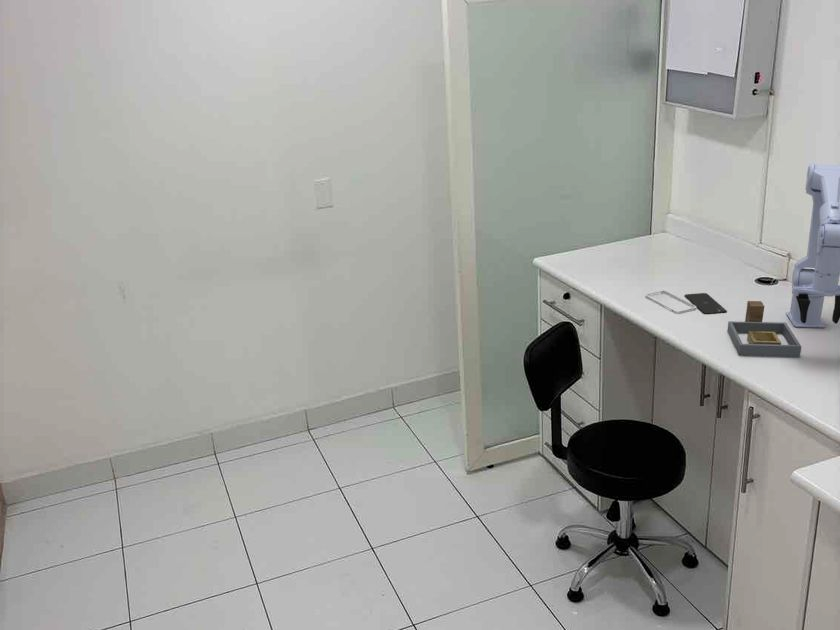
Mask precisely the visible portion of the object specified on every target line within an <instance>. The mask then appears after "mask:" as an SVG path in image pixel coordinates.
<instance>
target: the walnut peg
mask: <svg viewBox="0 0 840 630" xmlns="http://www.w3.org/2000/svg"><path fill="white" fill-rule="evenodd" d="M746 302H747V303H746V311H745V312H746V313H745V319H744V322H763V319H764V311H765V305H764V303H763V301H761V300H747V301H746Z"/></svg>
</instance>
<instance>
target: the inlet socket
mask: <svg viewBox="0 0 840 630" xmlns="http://www.w3.org/2000/svg"><path fill="white" fill-rule="evenodd" d="M746 335H747V336H746V341H747V343H748V342H749V343H748V344H774V345H782V342H781V340H780V338H779V337H778V334H776V333H775V332H764V331H748V333H747V334H746Z"/></svg>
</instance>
